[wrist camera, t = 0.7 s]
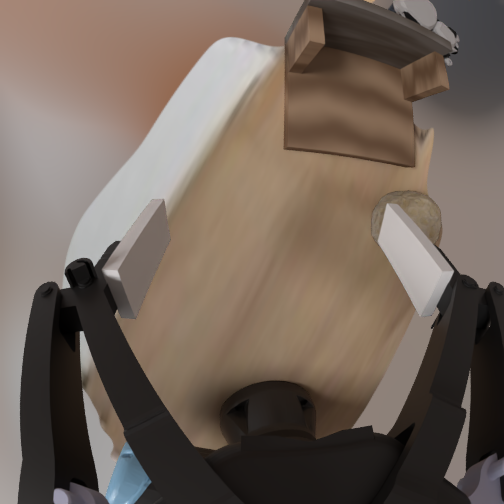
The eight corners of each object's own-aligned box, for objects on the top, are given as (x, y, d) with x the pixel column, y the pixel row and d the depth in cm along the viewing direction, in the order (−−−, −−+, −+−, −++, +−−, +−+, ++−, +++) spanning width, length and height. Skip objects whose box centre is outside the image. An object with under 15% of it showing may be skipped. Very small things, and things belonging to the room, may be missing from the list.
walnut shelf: (406, 167, 33) (467, 164, 21) (283, 149, 31) (319, 128, 19) (399, 68, 30) (450, 41, 18) (284, 38, 27) (312, -15, 16)
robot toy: (451, 42, 30) (397, -12, 26) (466, 37, 26) (411, -22, 21) (439, 73, 31) (379, 12, 27) (457, 68, 27) (394, 1, 23)
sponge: (405, 212, 39) (442, 177, 30) (420, 269, 35) (466, 241, 26) (357, 207, 38) (392, 165, 28) (371, 270, 34) (416, 238, 25)
